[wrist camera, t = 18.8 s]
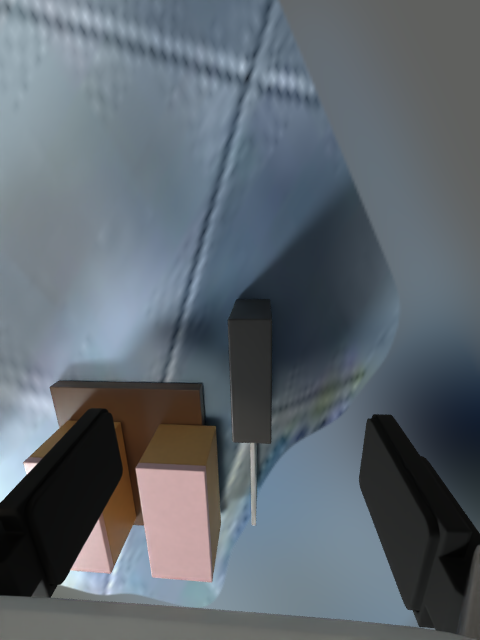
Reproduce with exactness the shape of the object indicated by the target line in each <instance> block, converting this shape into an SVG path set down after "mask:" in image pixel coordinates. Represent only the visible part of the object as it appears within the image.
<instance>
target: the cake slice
mask: <svg viewBox="0 0 480 640" xmlns="http://www.w3.org/2000/svg"><path fill="white" fill-rule="evenodd" d="M136 475H137V481H138V488H139V494H140V501H141V507H142V514H143V520H144V527H145V533H146V540H147V546H148V553H149V559H150V566H151V572H152V577H154V578H166V579H178V580H190V581H202V582H212V579H213V572H214V566H215V559H216V552H217V546H218V539H219V532H220V526H221V515H220V495H219V476H218V456H217V437H216V426H201V425H173V424H160V425H159V427H158V429H157V430H156V432H155V434H154V436H153V438H152V439H151V441H150V443H149V445H148V447H147V449H146V450H145V452H144V454H143V456H142V458H141V459H140V461H139V463H138V465H137V466H136Z"/></svg>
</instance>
